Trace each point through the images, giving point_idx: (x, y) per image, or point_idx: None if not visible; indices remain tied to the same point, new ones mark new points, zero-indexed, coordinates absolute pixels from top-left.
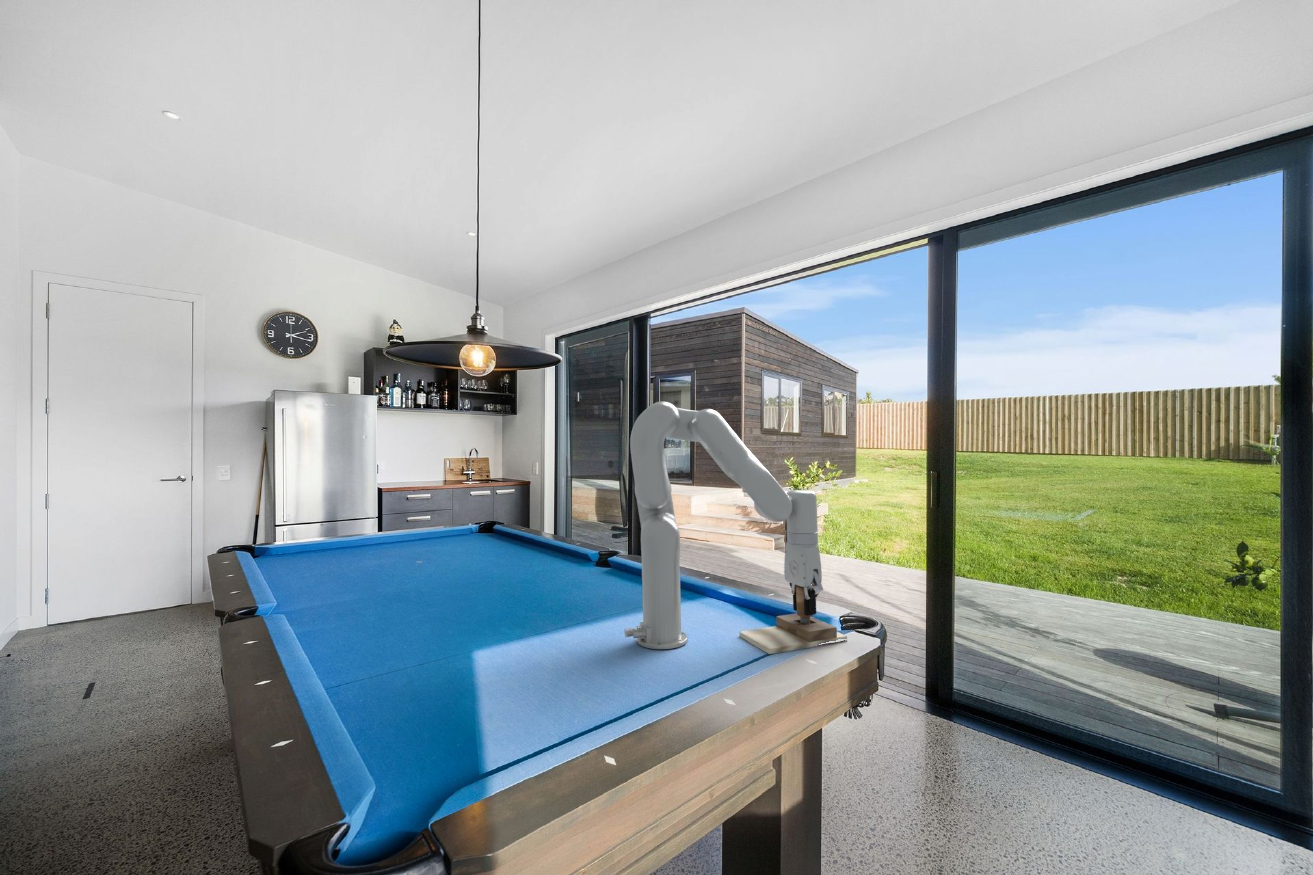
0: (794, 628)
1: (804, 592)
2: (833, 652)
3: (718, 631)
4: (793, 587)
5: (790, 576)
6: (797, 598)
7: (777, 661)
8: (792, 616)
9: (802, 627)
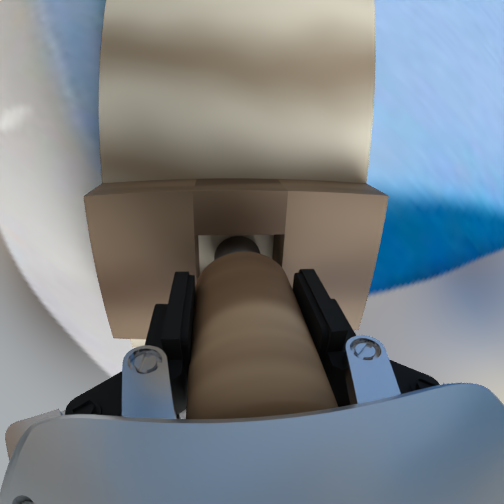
0: (214, 185)
1: (193, 391)
2: (55, 235)
3: (441, 3)
4: (368, 380)
5: (405, 468)
6: (260, 317)
7: (55, 5)
8: (342, 265)
9: (153, 204)
